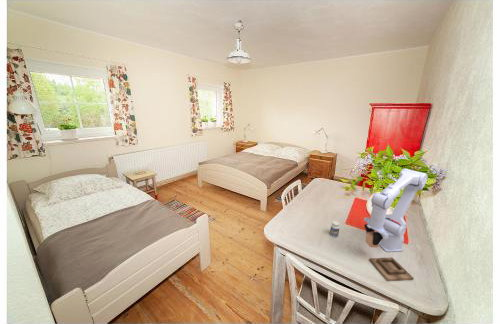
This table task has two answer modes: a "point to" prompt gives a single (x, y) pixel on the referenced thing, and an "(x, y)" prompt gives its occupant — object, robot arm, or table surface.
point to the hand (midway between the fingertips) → (372, 241)
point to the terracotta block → (370, 239)
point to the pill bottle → (335, 229)
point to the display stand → (390, 269)
